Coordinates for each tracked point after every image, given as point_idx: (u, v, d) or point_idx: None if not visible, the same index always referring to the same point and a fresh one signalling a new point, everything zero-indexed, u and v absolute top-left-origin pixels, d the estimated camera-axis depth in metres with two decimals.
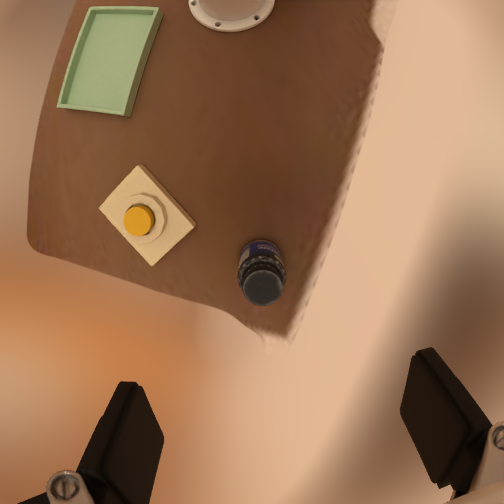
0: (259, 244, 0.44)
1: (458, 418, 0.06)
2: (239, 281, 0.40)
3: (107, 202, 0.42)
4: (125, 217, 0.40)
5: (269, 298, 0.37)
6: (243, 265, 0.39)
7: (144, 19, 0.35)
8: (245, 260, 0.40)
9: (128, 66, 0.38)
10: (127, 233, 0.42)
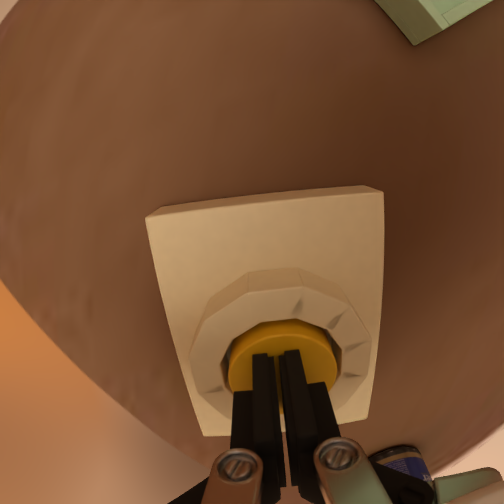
0: (422, 471, 0.16)
1: (290, 423, 0.07)
2: None
3: (190, 224, 0.11)
4: (257, 348, 0.10)
5: None
6: None
7: None
8: None
9: None
10: (208, 378, 0.11)
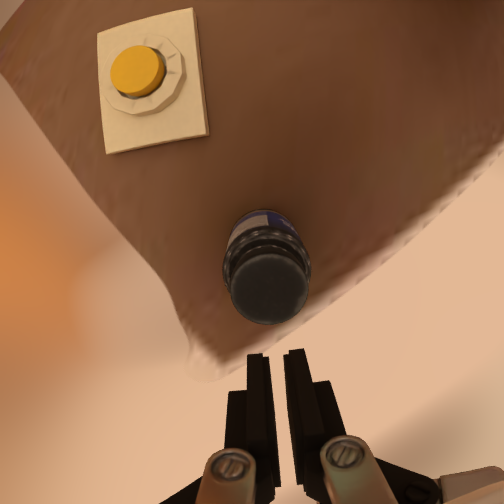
0: (283, 218, 0.25)
1: (296, 421, 0.07)
2: (229, 255, 0.21)
3: (113, 31, 0.21)
4: (122, 53, 0.19)
5: (268, 314, 0.19)
6: (254, 233, 0.21)
7: None
8: (260, 227, 0.21)
9: None
10: (107, 82, 0.21)
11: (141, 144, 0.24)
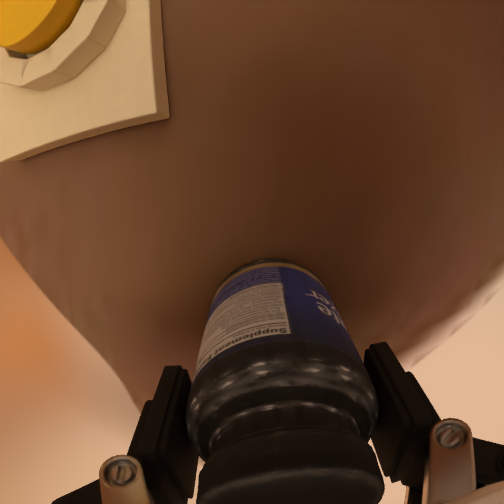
0: (313, 288, 0.12)
1: (401, 411, 0.07)
2: (196, 408, 0.08)
3: None
4: None
5: None
6: (255, 367, 0.08)
7: None
8: (271, 345, 0.08)
9: None
10: None
11: (44, 141, 0.11)
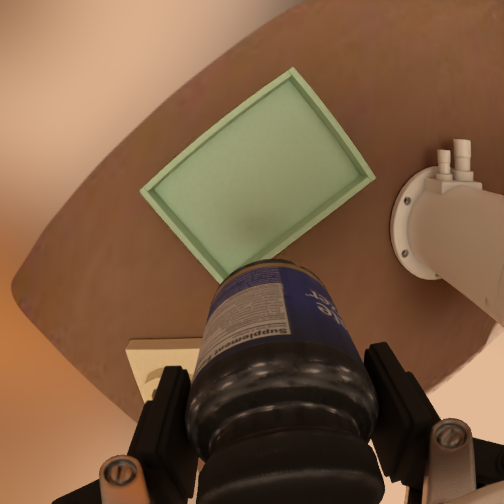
0: (313, 288, 0.12)
1: (401, 411, 0.07)
2: (196, 409, 0.08)
3: (140, 353, 0.32)
4: None
5: None
6: (255, 368, 0.07)
7: (341, 164, 0.28)
8: (271, 346, 0.08)
9: (274, 217, 0.29)
10: None
11: None
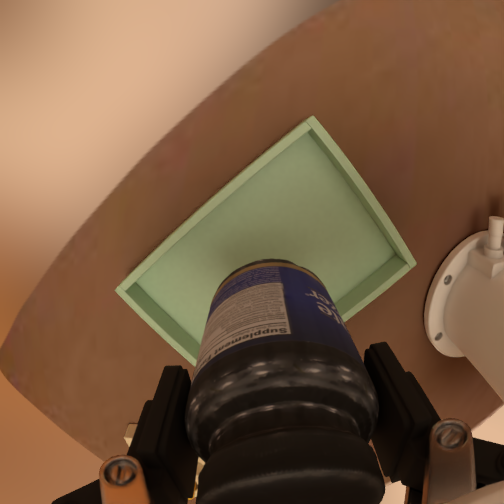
0: (313, 288, 0.12)
1: (401, 411, 0.07)
2: (196, 409, 0.08)
3: None
4: None
5: None
6: (255, 367, 0.07)
7: (373, 243, 0.22)
8: (271, 345, 0.08)
9: None
10: None
11: None
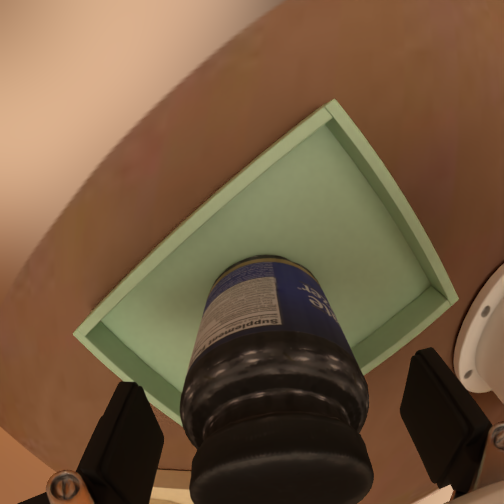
0: (306, 282, 0.13)
1: (458, 418, 0.06)
2: (190, 396, 0.08)
3: None
4: None
5: None
6: (247, 356, 0.08)
7: (405, 273, 0.16)
8: (262, 335, 0.08)
9: None
10: None
11: None
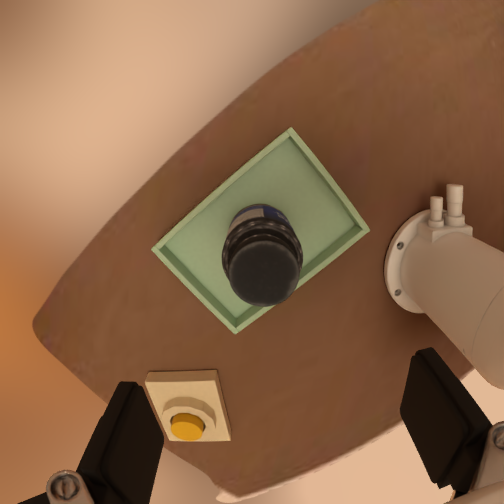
0: (277, 212, 0.27)
1: (458, 418, 0.06)
2: (228, 243, 0.23)
3: (158, 385, 0.35)
4: (176, 424, 0.34)
5: (262, 296, 0.21)
6: (250, 223, 0.23)
7: (338, 216, 0.31)
8: (256, 218, 0.23)
9: None
10: (167, 424, 0.35)
11: None
